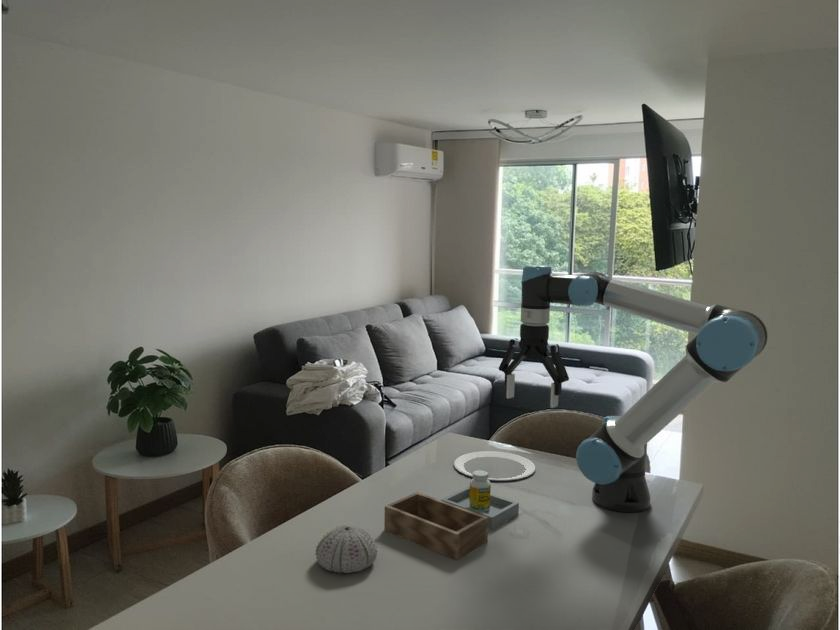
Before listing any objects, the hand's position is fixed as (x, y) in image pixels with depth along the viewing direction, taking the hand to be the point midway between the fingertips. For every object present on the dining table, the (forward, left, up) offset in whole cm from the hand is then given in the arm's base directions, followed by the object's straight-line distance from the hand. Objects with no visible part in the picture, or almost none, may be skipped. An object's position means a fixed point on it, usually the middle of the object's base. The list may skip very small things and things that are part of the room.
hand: (531, 402), depth 181 cm
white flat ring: (+20, -13, -27) cm, 36 cm away
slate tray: (+4, +17, -27) cm, 32 cm away
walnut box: (+4, +35, -27) cm, 44 cm away
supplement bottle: (+4, +17, -26) cm, 31 cm away
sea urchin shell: (+10, +58, -27) cm, 65 cm away
